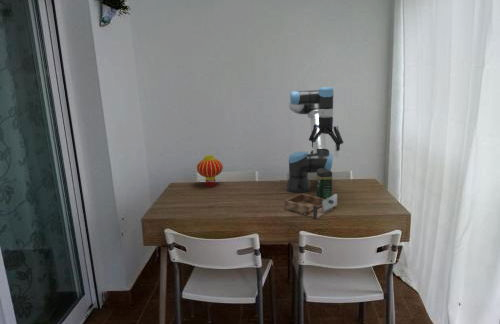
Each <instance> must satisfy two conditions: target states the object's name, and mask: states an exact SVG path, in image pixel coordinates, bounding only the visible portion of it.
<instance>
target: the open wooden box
mask: <svg viewBox="0 0 500 324" xmlns="http://www.w3.org/2000/svg"><path fill="white" fill-rule="evenodd" d="M322 200H324V199H323V198H318V197H316V196H315V195H310V194H306V193H303V192H300V193H299V194H297V195H294V196H292V197H289V198H287V199H285V200H284V210H285V209H286V211H289V210H290V211H289V212H292V211H293V213H296V212H297V213H296V214H299V213H301V214H300V215H303V214H306V215H310V216H312V217H311V218H313V219H316V220H317V219H319V218H321V217H322V216H321V215H323V214H324V215H326V214H328V213H330V212H332V211H334V207H332V208H330V209H328V210H326V211H324V212H322ZM331 210H332V211H331ZM329 211H330V212H329ZM327 212H328V213H327ZM325 213H326V214H325ZM306 215H305V216H306ZM324 215H323V216H324ZM320 216H321V217H320Z"/></svg>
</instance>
